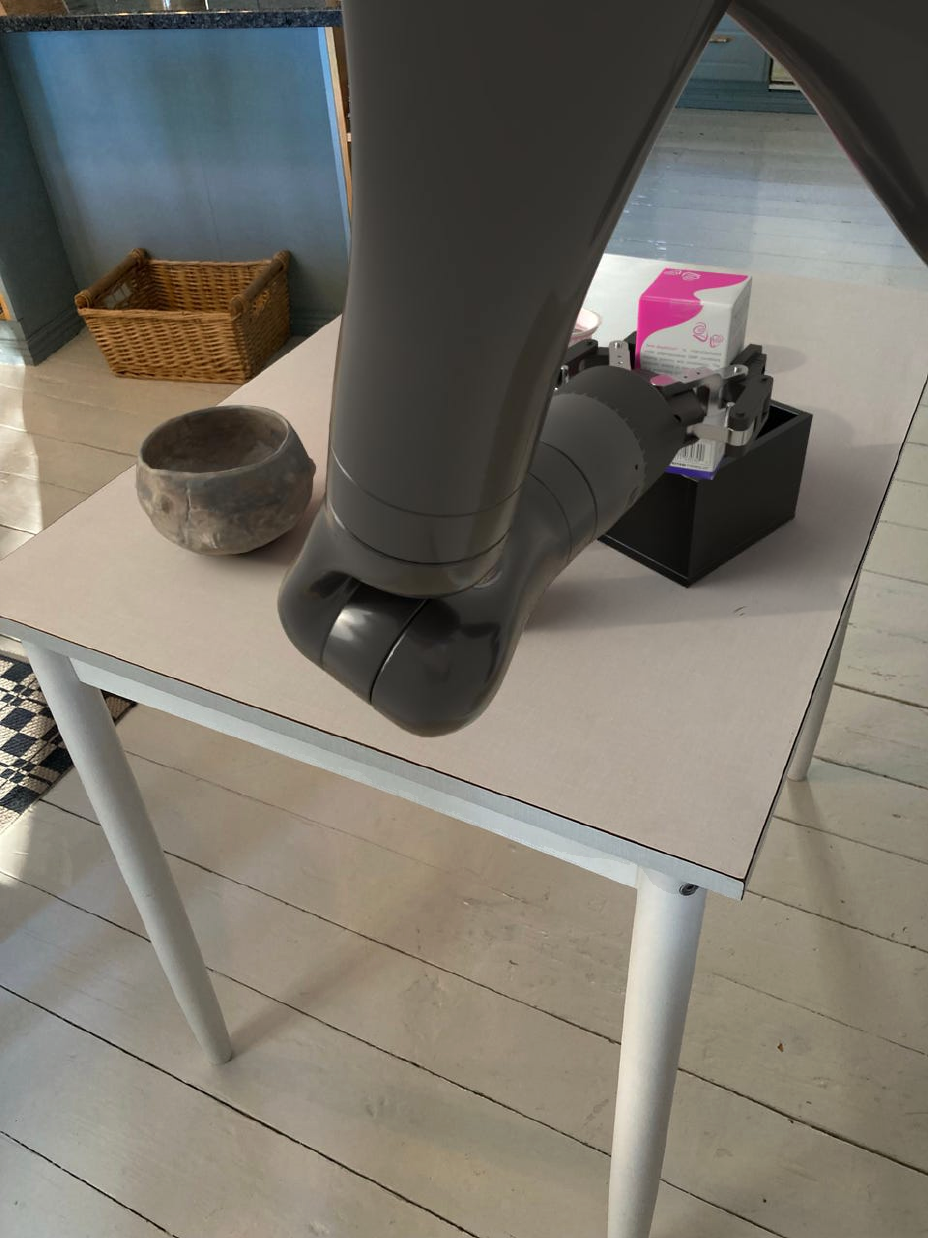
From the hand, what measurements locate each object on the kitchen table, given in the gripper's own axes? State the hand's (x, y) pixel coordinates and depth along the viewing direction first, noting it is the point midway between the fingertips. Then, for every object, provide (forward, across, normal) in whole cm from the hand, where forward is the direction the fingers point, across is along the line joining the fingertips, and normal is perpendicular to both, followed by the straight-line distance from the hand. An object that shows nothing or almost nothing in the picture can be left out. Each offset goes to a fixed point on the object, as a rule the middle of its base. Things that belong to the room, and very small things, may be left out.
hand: (703, 348), depth 64 cm
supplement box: (-2, 0, +7) cm, 7 cm away
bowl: (-9, +38, +22) cm, 45 cm away
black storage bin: (+12, +6, +22) cm, 25 cm away
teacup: (+33, +29, +22) cm, 49 cm away
